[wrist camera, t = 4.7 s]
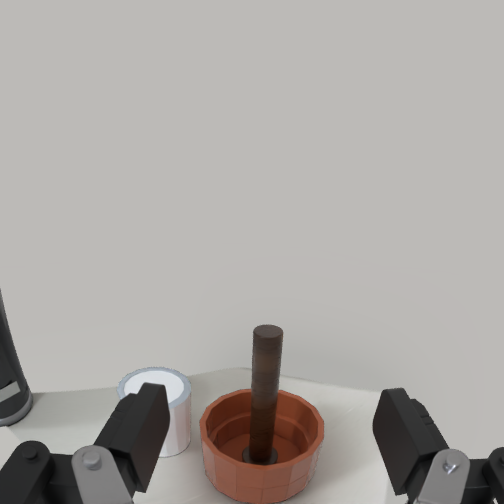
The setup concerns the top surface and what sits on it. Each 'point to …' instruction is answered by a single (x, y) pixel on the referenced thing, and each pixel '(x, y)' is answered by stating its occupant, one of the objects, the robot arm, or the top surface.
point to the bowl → (284, 441)
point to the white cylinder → (177, 401)
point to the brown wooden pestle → (264, 395)
